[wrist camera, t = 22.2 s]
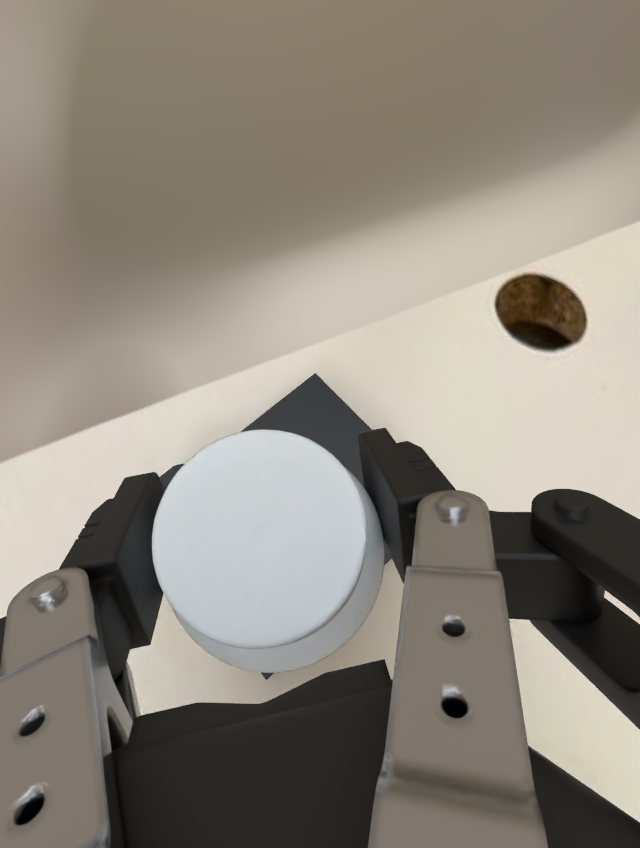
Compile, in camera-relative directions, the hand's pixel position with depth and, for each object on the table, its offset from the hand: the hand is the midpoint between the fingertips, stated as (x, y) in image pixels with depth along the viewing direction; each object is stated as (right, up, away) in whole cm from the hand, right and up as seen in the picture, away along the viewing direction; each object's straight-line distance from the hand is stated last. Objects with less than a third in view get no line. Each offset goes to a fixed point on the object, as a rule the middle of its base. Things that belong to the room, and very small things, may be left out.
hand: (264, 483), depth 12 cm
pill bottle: (0, -4, +5) cm, 7 cm away
